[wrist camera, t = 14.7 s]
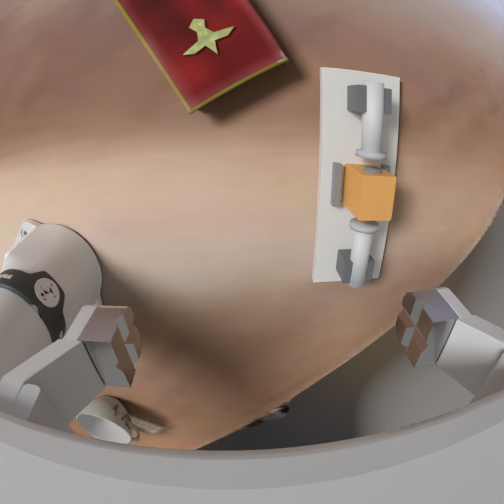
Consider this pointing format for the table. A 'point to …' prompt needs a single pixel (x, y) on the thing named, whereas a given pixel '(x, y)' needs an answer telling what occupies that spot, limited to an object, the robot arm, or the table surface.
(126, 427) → the teacup
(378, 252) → the shaft rig
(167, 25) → the hardcover book
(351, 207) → the block
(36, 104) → the table surface
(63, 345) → the robot arm
